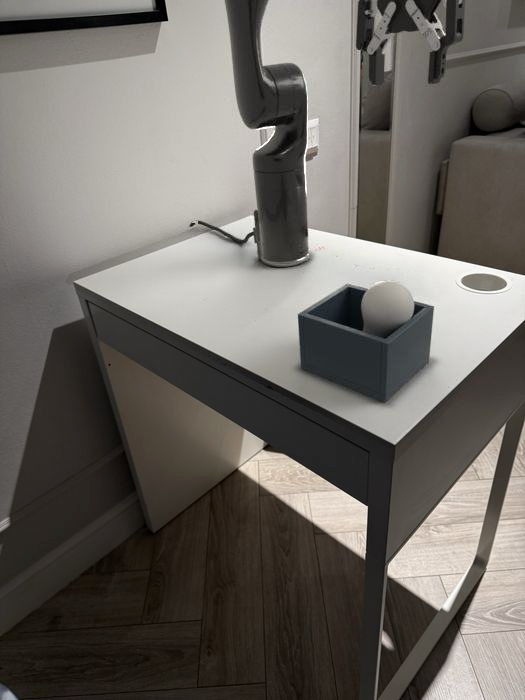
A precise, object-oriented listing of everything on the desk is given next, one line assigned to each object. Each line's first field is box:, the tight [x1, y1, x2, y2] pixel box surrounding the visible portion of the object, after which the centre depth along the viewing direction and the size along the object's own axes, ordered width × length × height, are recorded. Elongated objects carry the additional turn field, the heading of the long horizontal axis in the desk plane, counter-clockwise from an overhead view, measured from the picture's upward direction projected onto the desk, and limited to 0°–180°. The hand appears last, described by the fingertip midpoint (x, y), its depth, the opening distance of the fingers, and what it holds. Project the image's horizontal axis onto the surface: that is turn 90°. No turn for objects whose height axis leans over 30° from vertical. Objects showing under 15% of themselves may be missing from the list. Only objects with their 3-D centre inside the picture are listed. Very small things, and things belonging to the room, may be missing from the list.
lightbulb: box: [361, 280, 415, 339], centre depth 63 cm, size 6×6×11 cm
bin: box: [297, 283, 435, 403], centre depth 65 cm, size 13×11×8 cm
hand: (404, 84), depth 71 cm, fingers open, 8 cm apart
